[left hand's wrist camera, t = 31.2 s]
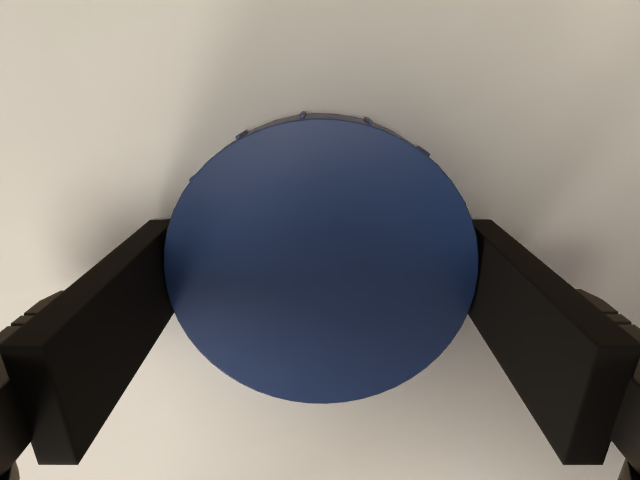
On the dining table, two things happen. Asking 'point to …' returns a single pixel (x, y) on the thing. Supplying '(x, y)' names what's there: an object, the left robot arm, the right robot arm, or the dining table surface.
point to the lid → (321, 259)
